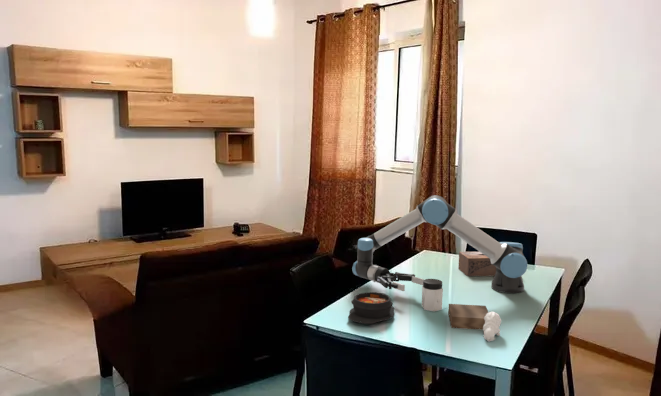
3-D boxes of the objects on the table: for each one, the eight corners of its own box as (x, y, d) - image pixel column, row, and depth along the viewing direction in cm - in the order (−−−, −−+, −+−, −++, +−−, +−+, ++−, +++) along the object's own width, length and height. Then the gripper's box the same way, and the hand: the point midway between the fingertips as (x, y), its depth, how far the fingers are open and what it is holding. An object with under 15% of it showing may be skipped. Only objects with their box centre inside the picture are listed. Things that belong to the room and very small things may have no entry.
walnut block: (485, 317, 212) (485, 305, 211) (491, 331, 197) (491, 318, 197) (448, 315, 214) (448, 303, 213) (451, 328, 199) (451, 316, 199)
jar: (431, 312, 215) (432, 285, 214) (417, 307, 222) (418, 280, 221) (446, 308, 220) (447, 282, 219) (432, 303, 227) (433, 277, 226)
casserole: (365, 304, 226) (365, 286, 225) (404, 312, 216) (405, 293, 215) (337, 322, 204) (337, 302, 203) (379, 332, 195) (379, 310, 194)
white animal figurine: (502, 311, 193) (498, 324, 182) (501, 331, 195) (497, 346, 184) (485, 308, 196) (480, 322, 185) (484, 329, 198) (479, 343, 187)
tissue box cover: (503, 268, 287) (504, 251, 285) (514, 275, 272) (515, 257, 271) (458, 269, 285) (459, 251, 283) (467, 276, 270) (468, 258, 269)
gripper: (396, 277, 252) (430, 287, 236) (360, 287, 236) (395, 299, 220) (396, 262, 251) (431, 272, 235) (360, 271, 235) (395, 282, 219)
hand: (414, 285), depth 228 cm, fingers open, 13 cm apart
